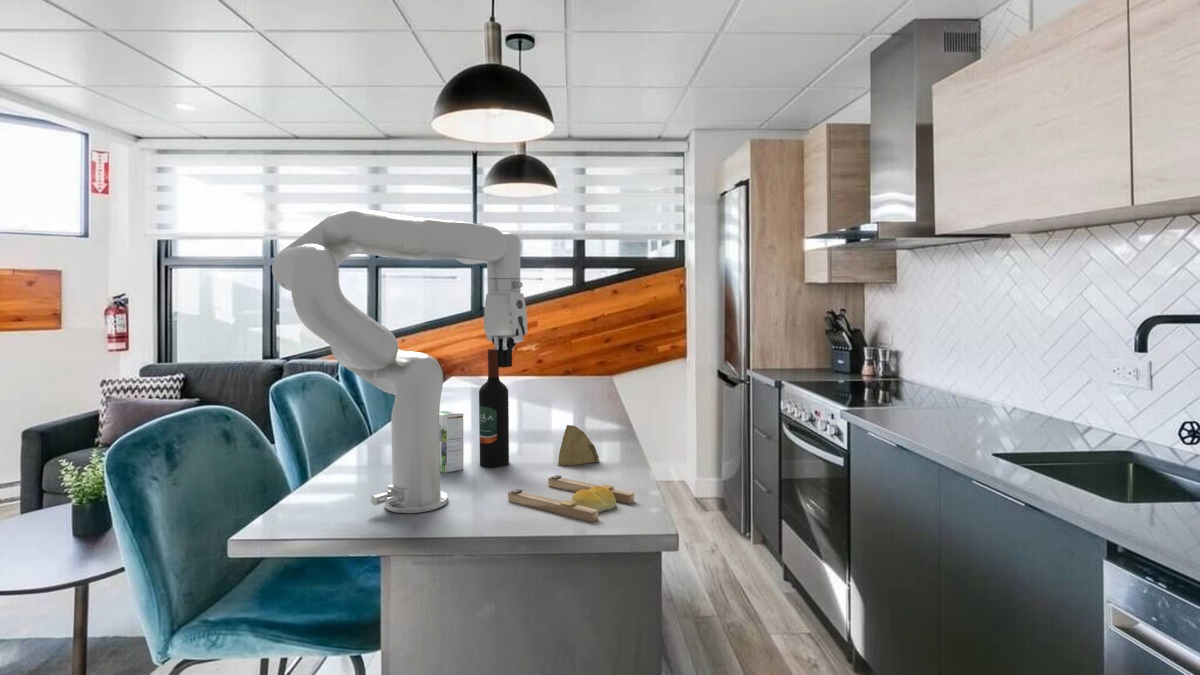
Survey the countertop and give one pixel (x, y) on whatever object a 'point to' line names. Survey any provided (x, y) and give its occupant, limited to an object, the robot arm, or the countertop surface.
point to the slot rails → (567, 506)
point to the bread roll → (595, 498)
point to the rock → (576, 448)
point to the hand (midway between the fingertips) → (504, 366)
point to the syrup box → (451, 441)
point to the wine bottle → (493, 418)
